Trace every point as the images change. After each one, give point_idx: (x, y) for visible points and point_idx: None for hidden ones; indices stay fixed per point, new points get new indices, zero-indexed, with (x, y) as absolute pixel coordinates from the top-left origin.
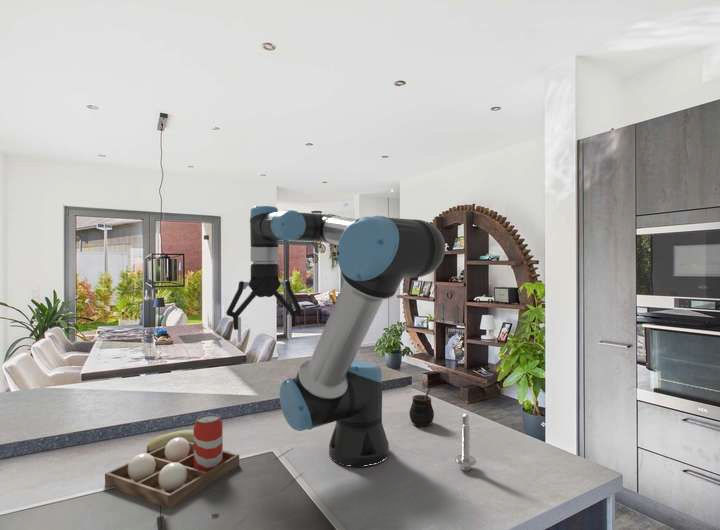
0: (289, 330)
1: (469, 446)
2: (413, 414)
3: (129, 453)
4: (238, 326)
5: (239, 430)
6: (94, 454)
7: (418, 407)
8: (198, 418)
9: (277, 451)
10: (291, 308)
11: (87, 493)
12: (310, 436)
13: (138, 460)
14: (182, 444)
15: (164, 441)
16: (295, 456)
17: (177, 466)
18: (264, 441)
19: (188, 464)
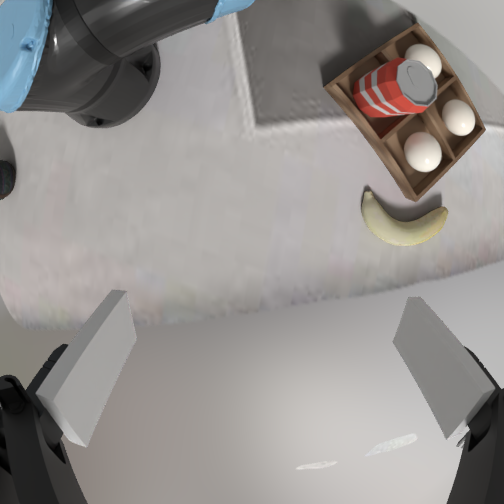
0: (99, 321)
1: None
2: (4, 171)
3: (456, 220)
4: (466, 351)
5: (302, 248)
6: (481, 235)
7: None
8: (433, 98)
9: (246, 121)
10: (8, 445)
11: (484, 125)
12: (170, 170)
13: (469, 107)
14: (423, 138)
15: (428, 219)
16: (217, 90)
17: (426, 50)
18: (263, 176)
19: (402, 116)
